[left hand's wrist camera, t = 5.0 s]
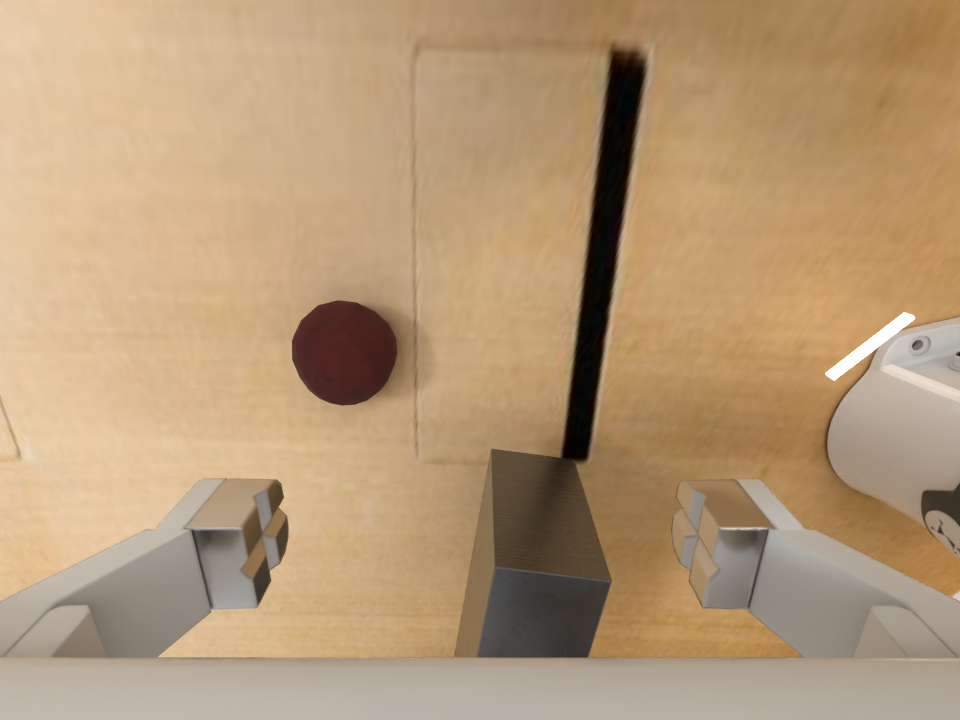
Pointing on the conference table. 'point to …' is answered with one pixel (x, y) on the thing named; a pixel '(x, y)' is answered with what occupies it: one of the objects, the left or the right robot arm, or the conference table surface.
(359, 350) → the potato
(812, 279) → the conference table surface
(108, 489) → the conference table surface
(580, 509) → the box
